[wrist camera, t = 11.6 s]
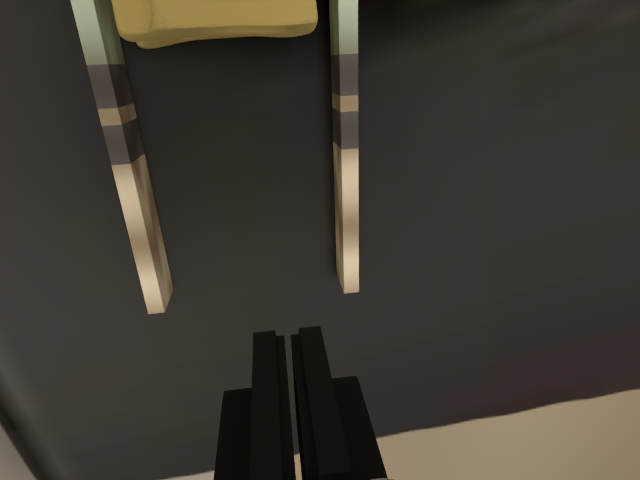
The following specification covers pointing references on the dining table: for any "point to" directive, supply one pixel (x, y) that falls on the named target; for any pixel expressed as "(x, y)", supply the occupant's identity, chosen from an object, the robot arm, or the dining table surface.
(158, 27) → the cheese
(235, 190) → the dining table surface
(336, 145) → the track
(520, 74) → the dining table surface
